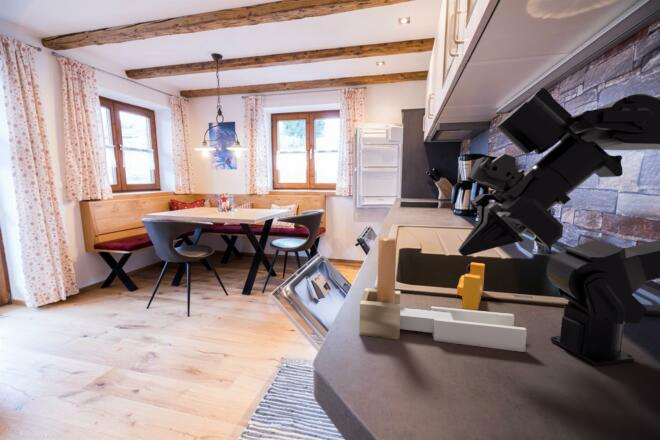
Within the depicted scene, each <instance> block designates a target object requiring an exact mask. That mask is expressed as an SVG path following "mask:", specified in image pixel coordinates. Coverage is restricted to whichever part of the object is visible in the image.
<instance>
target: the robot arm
mask: <svg viewBox="0 0 660 440" xmlns="http://www.w3.org/2000/svg"><path fill="white" fill-rule="evenodd" d="M495 128H496V129H497V130H498V131H499V132H500V133H502V134H503V135H504V136H505V137H506V138H507V140H508V141H510V142H511V143H512V144H513V145H514V146H515V147H516V148H517V149H519V150H520V152H522V153H523V154H524V155H528V154H531V153H533V152H534V153H535V154H536V155H538V156H539V155H542V154H543V153H545V152H547V151H548V150H549V151H548V152H547V153H546V154H545V155H544V156H543V157H541V158H540V159H539V160H538V161H537V162H535V163H534V164H533V165H532V166H531V167H530V168H527V169H518V168H517V167H516V162H517V159H516V157H514V156H512V155H510V154H507V153H503V154H500V155H499V156H497V157H496V158H495V159H492V158H491V157H485V156H484V157H480V158H477V159H476V160H475V162H474V164H473V166H472V168H471V169H470V171H469V173H468V175H467V176H466V180H467V181H469V182H471V183H477V184H480V185H482V186H485V187H486V188H489V189H491V190H493V191H492V192H491V194H490V193H489V194H488V193H485V194H484V193H479V194H478V195H477V196H476V197H474V199H473V200H471V201H470V202H471V203H472V205H474V207H475V208H476V210H477V213H478V214H477V217H478V219H477V222H476V224H475V225H474V227H473V228H472V229H471V231H470V233H469V234H468V235H467V237H466V238H465V239H464V240H463V242H462V244H461V245H460V247H459V248H458V250H457V251H458V253H459V254H461V256H463V257H467V256H470V255H474V254H477V253H481V252H485V251H488V250H492V249H495V248H500V247H503V246H508V245H511V244H512V245H513V244H515V243H522V242H524V239H523V238H522V237H521V235H522V234H524V233H525V232H526V231H529V232H530V233H532V235H534V236H535V237H534V241H535V243H536V244H537V245H540V246H542V247H545V248H547V249H548V248H549V247H551V246H553V245H554V244H555V243H556V242H557V241H559V240H560V239H562V238H563V231H564V225H563V224H562V223H561V222H560V221H559V220H558V219H557V218H556V217H555V216H553V214H551V213H550V212H549V210H551V209H552V208H553V207H554V206H555V205H566V204H567V203H569V202H570V201H571V200H572V198H571V197H570V196H569V195H570V194H571V193H572V192H573V191H575V190H576V189H577V188H579V187H580V186H581V185H582V184H584V183H585V182H586V181H587V180H588V179H589V178H591V177H593V175H594V174H595V175H596V176H597V177H598V178H616V177H617V178H618V177H621V176H622V175H623V166H622V160H623V156H622V154H621V155H619V154H618V155H617V154H616V155H611V154H609V153H608V152H606V151H607V150H608V151H609V150H610V151H638V150H640V151H641V150H653V151H654V150H656V151H657V150H660V98H659V97H656V96H654V95H651V94H645V93H634V94H629V95H627V96H625V97H624V96H623V97H622V98H619V99H617V100H614V101H612V102H609V103H607V104H605V105H602V106H599V107H597V108H595V109H592V110H588V109H587V110H584V111H582V112H579V113H578V114H574V115H572V114H571V113H570V112H569V111H568V110H566V108H564V107H563V106H562V105H561V104H560V103H559V102H558V101H557V100H556V99H555V98H554V96H553V95H552V94H551V92H550V91H548V90H547V89H546V88H545V87H541V88H540V89H538V90H537V91H535V92H534V93H533V94H532V95H531V96H530V97H529V98H528V99H526V100H525V101H524V102H522V104H520V105H519V106H518V107H516V108H514V109H513V110H512V111H510V112H509V113H508V114H507V115H506V116H505V117H504V118H503V119H501V121H499V123H498V124H496V126H495ZM557 143H558V144H557ZM562 250H563V251H560V252H559V253H556V254H554V255H552V256H551V257H550V260H549V262H548V263H547V267H546V276H547V277H548V280H549V281H550V282H551V283H552V284H553V285H554V286H555V287H556V289H557V293H558V295H559V296H560V297H562V298H564V299H566V300H567V303H566V304H564V305H563V306H564V307H563V316H561V325H560V335H554V336H550V341H552V343H555V344H557V345H558V346H560V347H562V348H563V349H566V350H567V351H569V352H571V353H572V354H574V355H576V356H578V357H579V358H581V359H583V360H585V361H586V362H588V363H590V364H592V365H595V366H605V365H612V364H619V363H620V364H621V363H626V362H627V363H629V362H634V361H635V356H634V355H633V354H630V353H628V352H626V351H624V350H622V344H623V337H624V329H625V324H627V323H628V324H639V323H640V321H641V320H642V318H643V317H644V315H645V313H646V312H647V307H646V306H645V305H643V303H642V302H641V301H640V300H638V299H637V297H635V296H634V295H633V294H635V293H636V292H637V291H638V290H639V289H640V288H642V286H644V285H645V284H646V283H648V282H651V281H655V280H659V279H660V239H656V240H652V241H649V242H645V243H641V244H636V245H632V246H629V247H622V246H618V245H614V244H610V243H605V242H603V241H599V240H594V239H593V240H590V241H586V242H583V243H581V244H580V245H576V246H570V247H569V246H563V247H562Z"/></svg>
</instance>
